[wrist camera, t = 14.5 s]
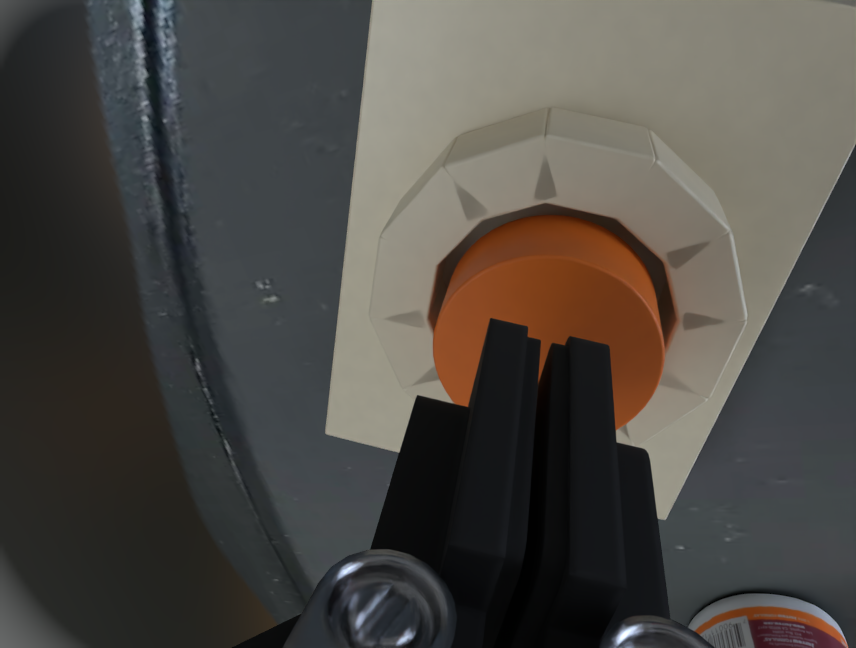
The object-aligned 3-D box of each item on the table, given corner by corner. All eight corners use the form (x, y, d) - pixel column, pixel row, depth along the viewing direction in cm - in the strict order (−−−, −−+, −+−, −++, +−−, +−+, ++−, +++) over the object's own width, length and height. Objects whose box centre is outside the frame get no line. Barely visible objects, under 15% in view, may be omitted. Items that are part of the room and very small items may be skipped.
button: (468, 191, 13) (454, 231, 11) (687, 241, 13) (702, 287, 11) (432, 366, 15) (415, 418, 14) (619, 411, 15) (622, 469, 13)
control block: (408, -92, 14) (352, -85, 11) (873, 1, 13) (972, 39, 10) (347, 385, 20) (301, 483, 17) (658, 462, 20) (673, 579, 16)
